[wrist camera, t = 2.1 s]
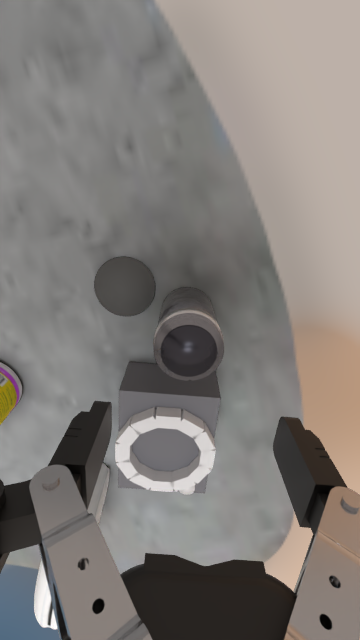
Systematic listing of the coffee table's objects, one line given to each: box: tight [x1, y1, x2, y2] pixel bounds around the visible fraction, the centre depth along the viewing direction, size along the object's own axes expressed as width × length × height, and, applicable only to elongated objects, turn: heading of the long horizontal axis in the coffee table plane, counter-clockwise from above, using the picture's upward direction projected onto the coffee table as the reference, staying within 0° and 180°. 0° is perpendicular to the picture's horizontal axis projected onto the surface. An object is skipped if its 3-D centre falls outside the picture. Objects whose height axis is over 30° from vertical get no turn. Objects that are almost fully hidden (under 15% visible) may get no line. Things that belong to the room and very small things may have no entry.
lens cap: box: [94, 257, 155, 316], centre depth 27 cm, size 6×6×1 cm
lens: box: [154, 287, 224, 381], centre depth 24 cm, size 5×5×8 cm
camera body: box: [115, 362, 221, 495], centre depth 29 cm, size 9×12×6 cm
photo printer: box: [34, 463, 110, 629], centre depth 31 cm, size 10×4×12 cm, turn 165°
